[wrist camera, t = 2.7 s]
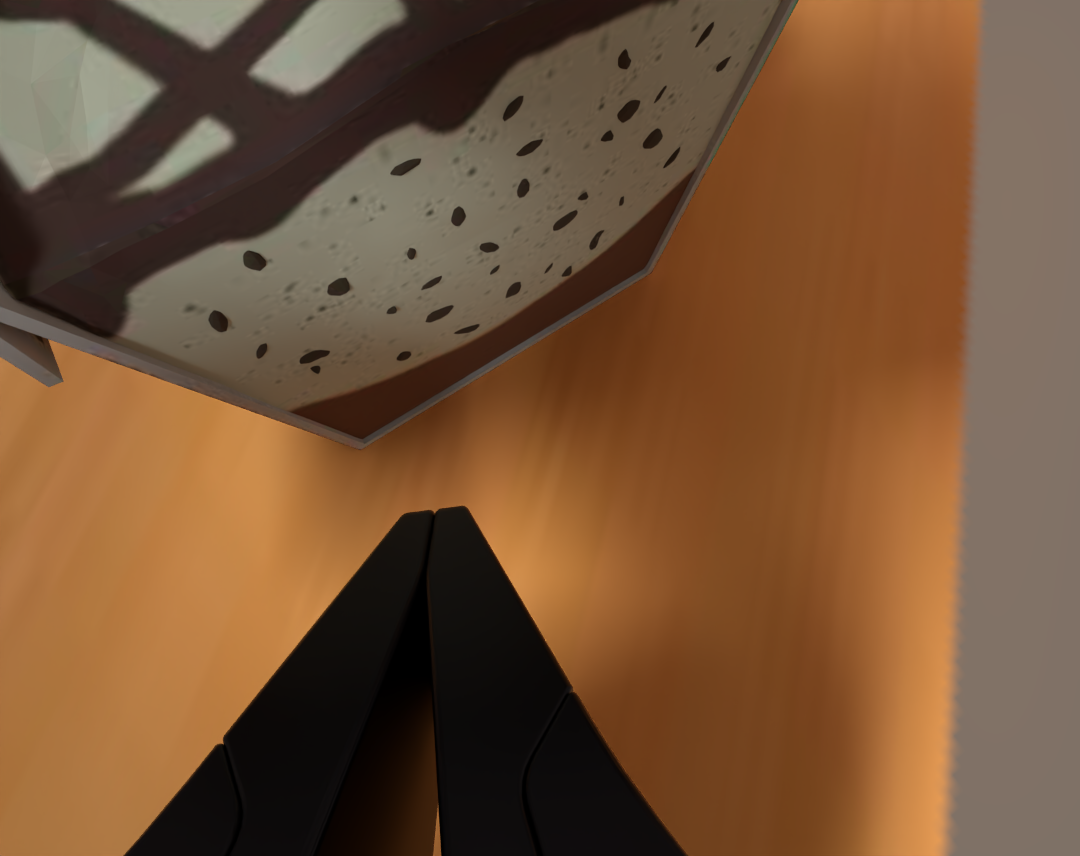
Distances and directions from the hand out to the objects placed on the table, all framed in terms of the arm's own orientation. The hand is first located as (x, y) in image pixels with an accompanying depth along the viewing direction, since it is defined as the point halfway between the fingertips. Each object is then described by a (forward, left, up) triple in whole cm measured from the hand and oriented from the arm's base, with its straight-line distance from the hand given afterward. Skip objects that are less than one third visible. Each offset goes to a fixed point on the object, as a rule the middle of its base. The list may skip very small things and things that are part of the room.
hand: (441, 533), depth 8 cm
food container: (+8, 0, -7) cm, 10 cm away
